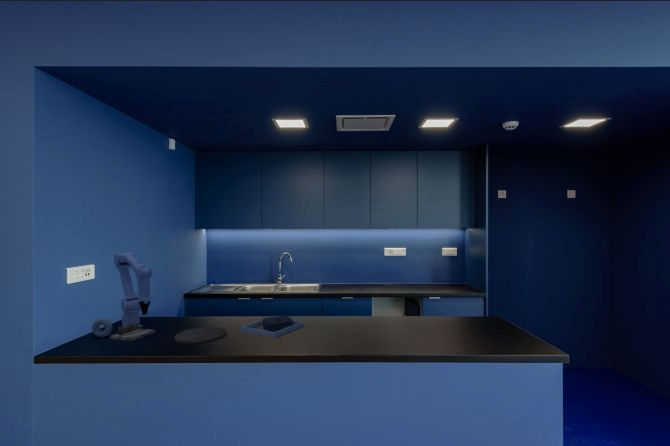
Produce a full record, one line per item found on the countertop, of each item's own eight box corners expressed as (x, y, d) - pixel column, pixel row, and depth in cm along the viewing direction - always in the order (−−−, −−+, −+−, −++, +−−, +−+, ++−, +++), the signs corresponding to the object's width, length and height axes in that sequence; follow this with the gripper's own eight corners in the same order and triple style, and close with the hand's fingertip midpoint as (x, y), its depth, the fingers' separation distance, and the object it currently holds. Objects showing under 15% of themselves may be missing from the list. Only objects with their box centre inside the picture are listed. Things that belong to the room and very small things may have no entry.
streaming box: (294, 330, 201) (294, 321, 201) (267, 334, 196) (267, 324, 196) (287, 324, 215) (286, 315, 215) (262, 327, 209) (261, 318, 209)
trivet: (235, 335, 195) (235, 332, 195) (189, 348, 176) (188, 344, 176) (211, 327, 212) (210, 324, 212) (166, 338, 193) (166, 334, 193)
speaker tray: (240, 331, 201) (240, 326, 201) (271, 321, 221) (270, 317, 221) (274, 337, 188) (274, 332, 188) (303, 326, 209) (303, 321, 209)
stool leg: (121, 334, 194) (121, 327, 194) (116, 334, 195) (116, 327, 195) (138, 328, 205) (138, 321, 205) (134, 328, 206) (134, 321, 206)
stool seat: (109, 338, 194) (109, 330, 194) (133, 330, 208) (133, 322, 208) (132, 340, 189) (132, 332, 189) (155, 332, 203) (155, 324, 203)
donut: (114, 335, 199) (113, 316, 199) (110, 337, 195) (110, 318, 196) (94, 336, 198) (94, 317, 198) (90, 338, 195) (90, 319, 195)
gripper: (154, 290, 202) (154, 316, 202) (150, 287, 214) (150, 311, 214) (139, 292, 198) (140, 318, 198) (136, 288, 210) (136, 312, 210)
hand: (144, 314), depth 205 cm, fingers closed
